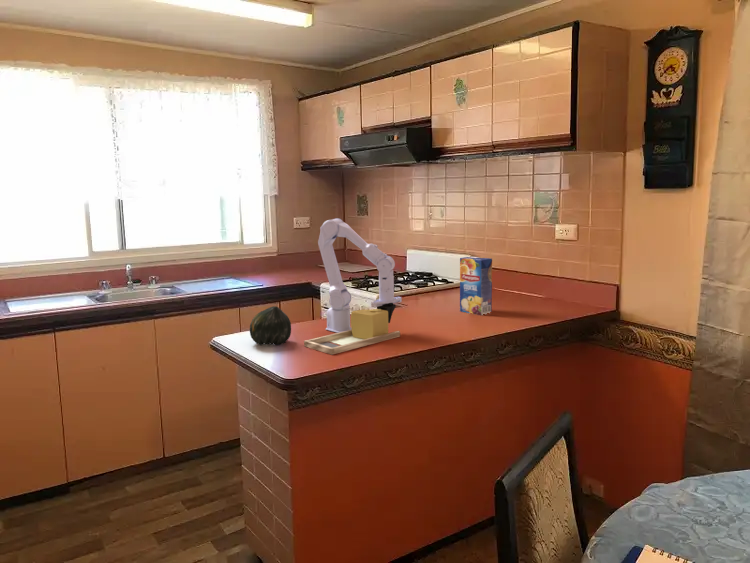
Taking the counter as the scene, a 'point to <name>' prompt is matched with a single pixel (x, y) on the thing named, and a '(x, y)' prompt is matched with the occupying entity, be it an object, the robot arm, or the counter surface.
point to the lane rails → (315, 344)
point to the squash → (270, 327)
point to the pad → (346, 340)
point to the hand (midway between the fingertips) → (387, 322)
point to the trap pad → (329, 344)
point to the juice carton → (476, 285)
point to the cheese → (369, 323)
